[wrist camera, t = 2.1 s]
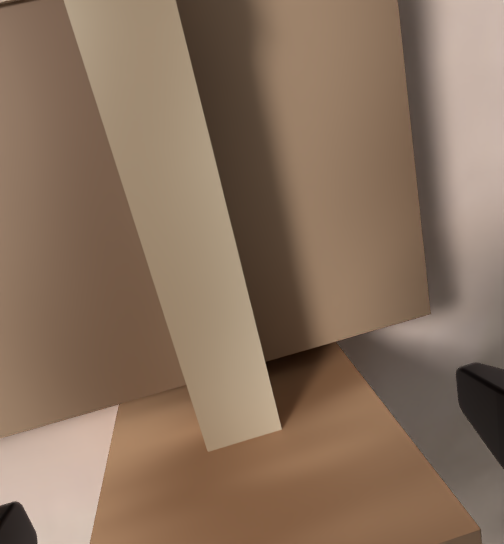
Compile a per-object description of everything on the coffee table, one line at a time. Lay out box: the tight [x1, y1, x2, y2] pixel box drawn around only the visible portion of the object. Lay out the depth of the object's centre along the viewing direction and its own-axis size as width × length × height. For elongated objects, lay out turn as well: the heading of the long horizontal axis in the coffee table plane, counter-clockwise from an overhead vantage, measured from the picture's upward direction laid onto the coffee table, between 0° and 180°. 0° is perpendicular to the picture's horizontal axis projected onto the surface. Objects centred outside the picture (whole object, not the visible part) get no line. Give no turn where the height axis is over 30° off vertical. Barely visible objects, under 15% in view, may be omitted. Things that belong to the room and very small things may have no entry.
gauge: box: [64, 0, 482, 544], centre depth 7 cm, size 4×11×6 cm, turn 13°
